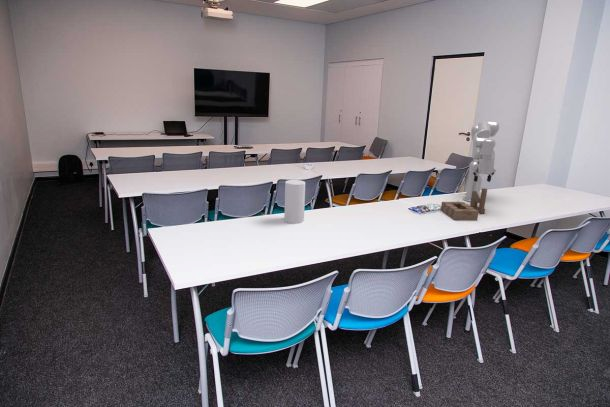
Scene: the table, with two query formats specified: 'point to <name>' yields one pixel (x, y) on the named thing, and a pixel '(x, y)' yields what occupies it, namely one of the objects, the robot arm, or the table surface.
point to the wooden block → (479, 200)
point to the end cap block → (459, 211)
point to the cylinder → (294, 201)
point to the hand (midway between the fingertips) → (482, 181)
